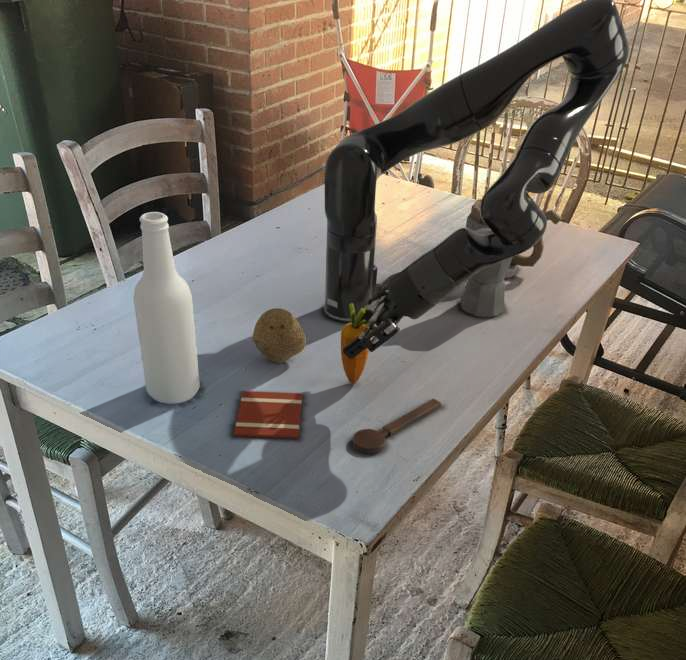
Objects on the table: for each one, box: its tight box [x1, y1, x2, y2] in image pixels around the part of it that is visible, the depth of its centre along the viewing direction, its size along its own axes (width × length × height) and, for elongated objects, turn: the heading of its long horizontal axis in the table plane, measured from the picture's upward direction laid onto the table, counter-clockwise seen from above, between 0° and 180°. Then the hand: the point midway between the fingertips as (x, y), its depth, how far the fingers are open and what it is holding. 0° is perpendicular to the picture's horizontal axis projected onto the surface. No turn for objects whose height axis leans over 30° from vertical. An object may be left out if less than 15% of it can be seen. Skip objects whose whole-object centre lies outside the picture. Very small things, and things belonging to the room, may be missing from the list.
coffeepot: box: [460, 228, 513, 318], centre depth 150 cm, size 15×9×18 cm, turn 110°
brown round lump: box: [252, 307, 307, 364], centre depth 134 cm, size 9×9×10 cm
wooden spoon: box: [352, 398, 442, 455], centre depth 122 cm, size 19×5×1 cm, turn 134°
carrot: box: [340, 303, 371, 385], centre depth 127 cm, size 5×5×15 cm
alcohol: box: [133, 211, 201, 405], centre depth 118 cm, size 9×9×30 cm
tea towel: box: [233, 390, 303, 440], centre depth 123 cm, size 10×12×1 cm
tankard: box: [465, 198, 562, 279], centre depth 165 cm, size 20×13×15 cm, turn 68°
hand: (348, 341), depth 126 cm, fingers open, 8 cm apart
